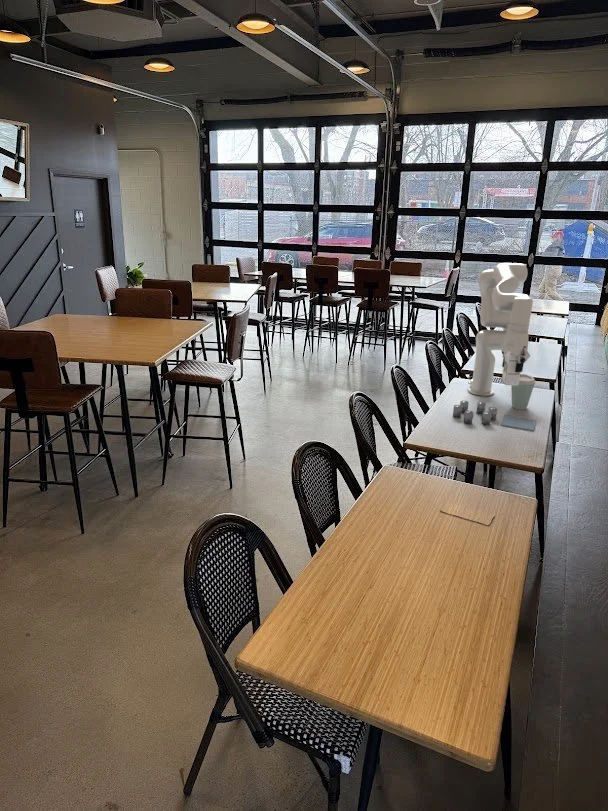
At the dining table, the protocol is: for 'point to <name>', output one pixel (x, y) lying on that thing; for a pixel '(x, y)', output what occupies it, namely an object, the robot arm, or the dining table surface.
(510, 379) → the syrup box
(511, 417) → the slate mat
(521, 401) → the disposable coffee cup
